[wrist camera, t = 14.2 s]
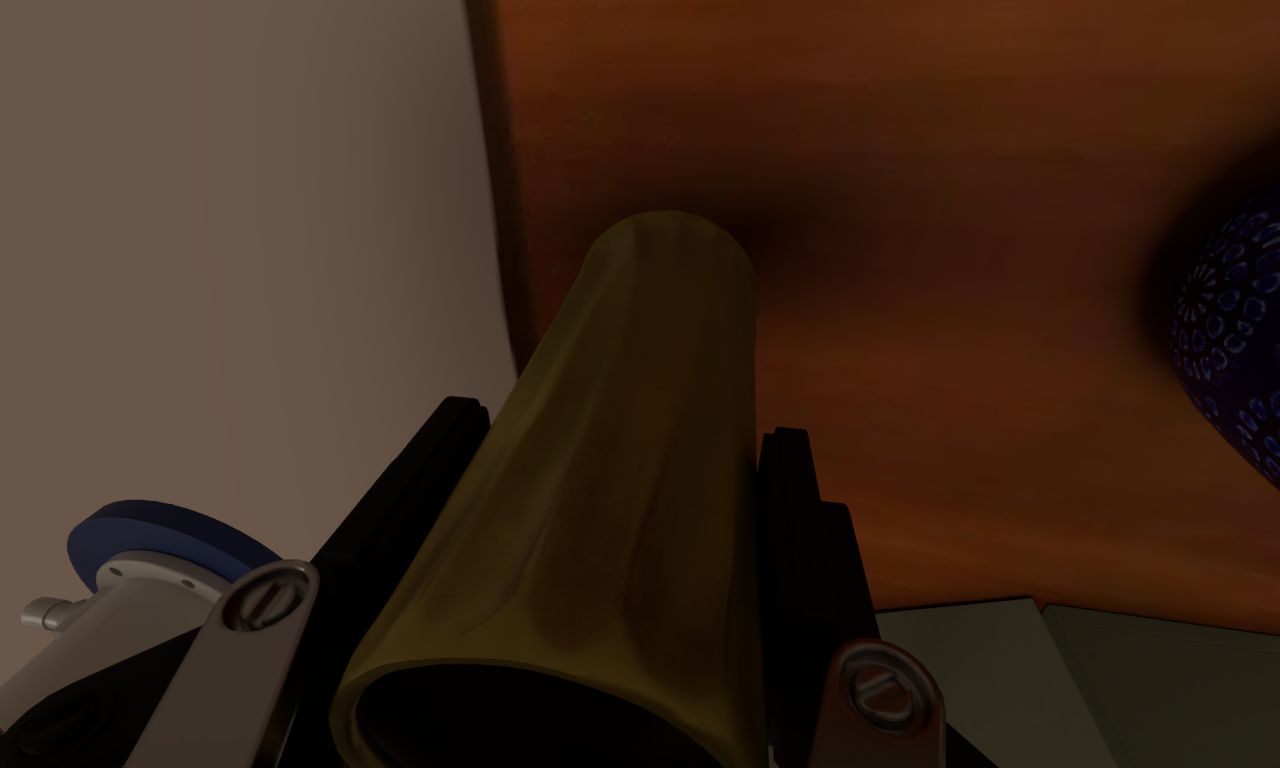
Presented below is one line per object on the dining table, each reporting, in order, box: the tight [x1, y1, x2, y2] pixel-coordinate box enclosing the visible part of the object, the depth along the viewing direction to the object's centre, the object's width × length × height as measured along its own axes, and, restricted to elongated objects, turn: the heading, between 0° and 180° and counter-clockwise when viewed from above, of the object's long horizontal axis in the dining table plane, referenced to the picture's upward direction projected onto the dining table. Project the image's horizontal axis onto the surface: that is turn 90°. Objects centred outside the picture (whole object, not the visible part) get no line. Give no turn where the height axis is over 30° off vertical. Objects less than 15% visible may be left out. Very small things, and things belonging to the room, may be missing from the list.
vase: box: [329, 210, 769, 768], centre depth 12 cm, size 6×6×14 cm
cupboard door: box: [768, 598, 1118, 768], centre depth 24 cm, size 7×16×12 cm, turn 114°
